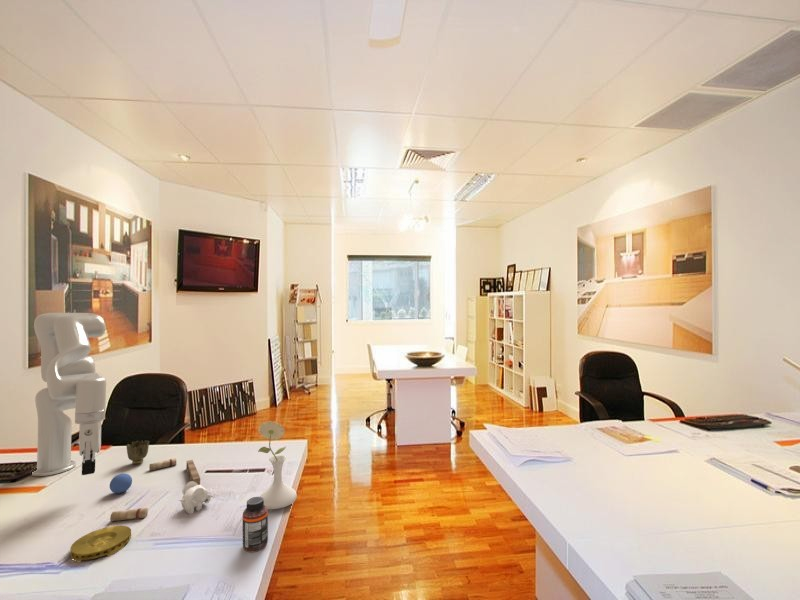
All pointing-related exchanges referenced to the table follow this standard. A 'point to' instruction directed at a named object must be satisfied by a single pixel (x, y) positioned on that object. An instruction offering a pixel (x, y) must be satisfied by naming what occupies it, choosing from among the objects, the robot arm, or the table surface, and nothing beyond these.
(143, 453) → the cup
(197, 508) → the elephant figurine
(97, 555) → the gold brake disc
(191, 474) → the wooden plank
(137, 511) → the front pin
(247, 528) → the supplement bottle
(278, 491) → the flower in vase
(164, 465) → the rear pin
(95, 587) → the table surface
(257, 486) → the table surface
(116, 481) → the ball
